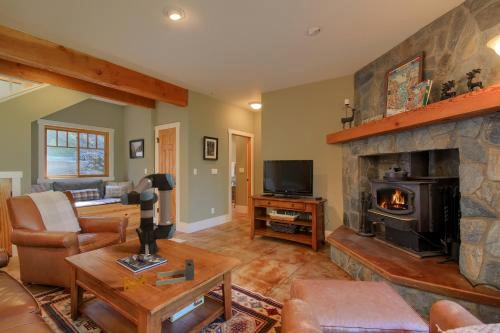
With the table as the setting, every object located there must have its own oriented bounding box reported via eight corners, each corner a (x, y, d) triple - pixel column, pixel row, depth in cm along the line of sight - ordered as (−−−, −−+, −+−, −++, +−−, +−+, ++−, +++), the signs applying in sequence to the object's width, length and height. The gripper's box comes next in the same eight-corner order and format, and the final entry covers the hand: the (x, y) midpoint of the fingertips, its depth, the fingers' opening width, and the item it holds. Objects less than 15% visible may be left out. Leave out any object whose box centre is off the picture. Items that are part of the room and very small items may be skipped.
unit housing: (185, 273, 157) (185, 258, 157) (193, 272, 159) (193, 257, 159) (185, 280, 147) (185, 265, 147) (194, 279, 148) (194, 264, 149)
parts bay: (157, 276, 153) (157, 272, 153) (184, 273, 158) (184, 269, 158) (155, 285, 141) (155, 281, 141) (185, 281, 146) (185, 277, 146)
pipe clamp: (124, 291, 135) (124, 280, 135) (123, 288, 138) (123, 277, 138) (146, 285, 141) (146, 275, 141) (145, 282, 145) (145, 272, 145)
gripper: (134, 218, 140) (134, 258, 140) (157, 217, 144) (157, 255, 144) (136, 216, 147) (136, 253, 147) (158, 214, 151) (158, 251, 151)
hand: (147, 254), depth 146 cm, fingers closed
